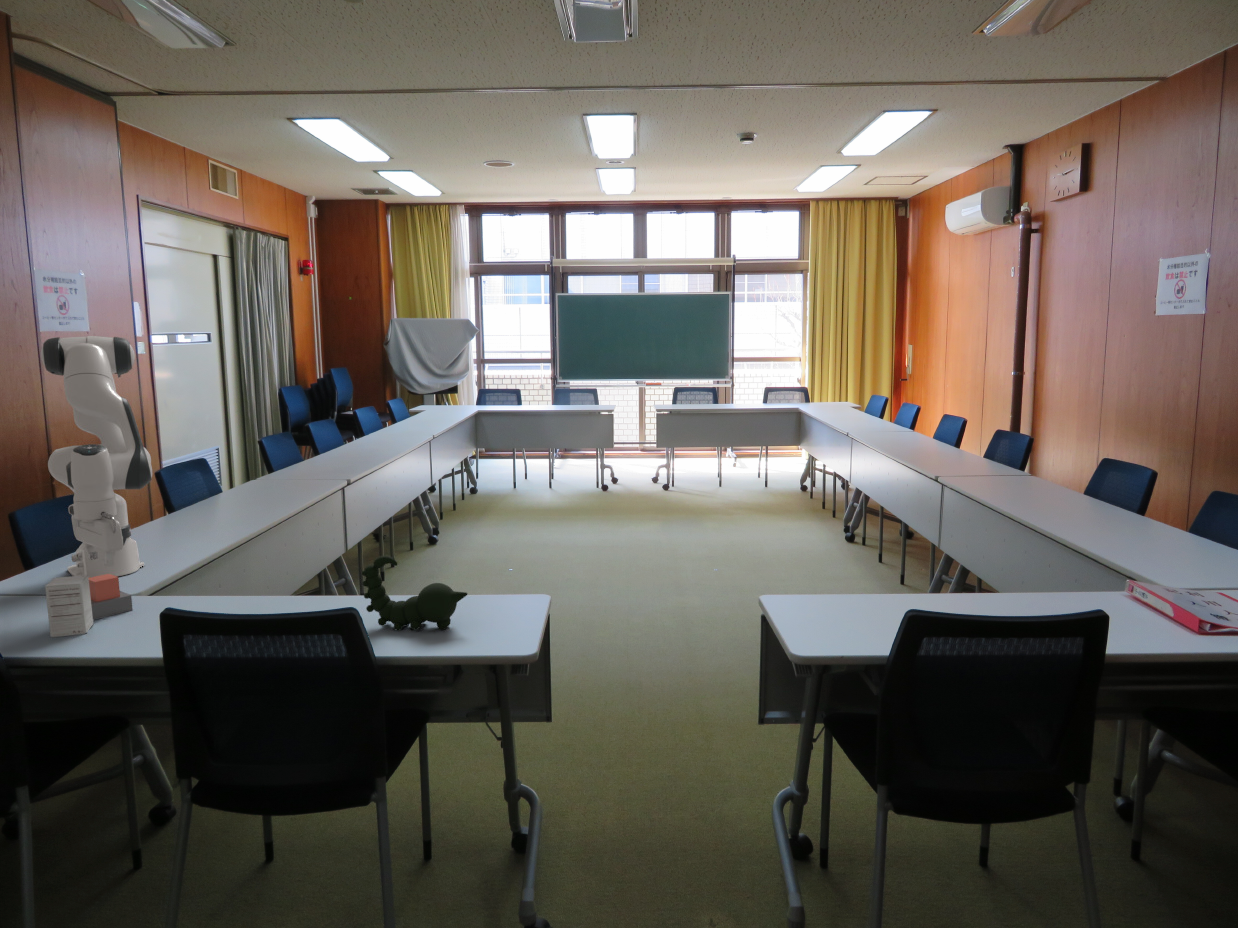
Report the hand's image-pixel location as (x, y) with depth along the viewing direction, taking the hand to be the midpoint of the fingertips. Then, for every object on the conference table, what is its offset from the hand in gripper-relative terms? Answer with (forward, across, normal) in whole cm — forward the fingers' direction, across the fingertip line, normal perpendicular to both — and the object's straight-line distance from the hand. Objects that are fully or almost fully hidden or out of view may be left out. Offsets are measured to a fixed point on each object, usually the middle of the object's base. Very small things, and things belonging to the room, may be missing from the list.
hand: (101, 562), depth 203 cm
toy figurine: (+12, -74, -40) cm, 85 cm away
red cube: (+9, -1, 0) cm, 9 cm away
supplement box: (+13, -9, +11) cm, 19 cm away
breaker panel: (+13, +2, 0) cm, 13 cm away
